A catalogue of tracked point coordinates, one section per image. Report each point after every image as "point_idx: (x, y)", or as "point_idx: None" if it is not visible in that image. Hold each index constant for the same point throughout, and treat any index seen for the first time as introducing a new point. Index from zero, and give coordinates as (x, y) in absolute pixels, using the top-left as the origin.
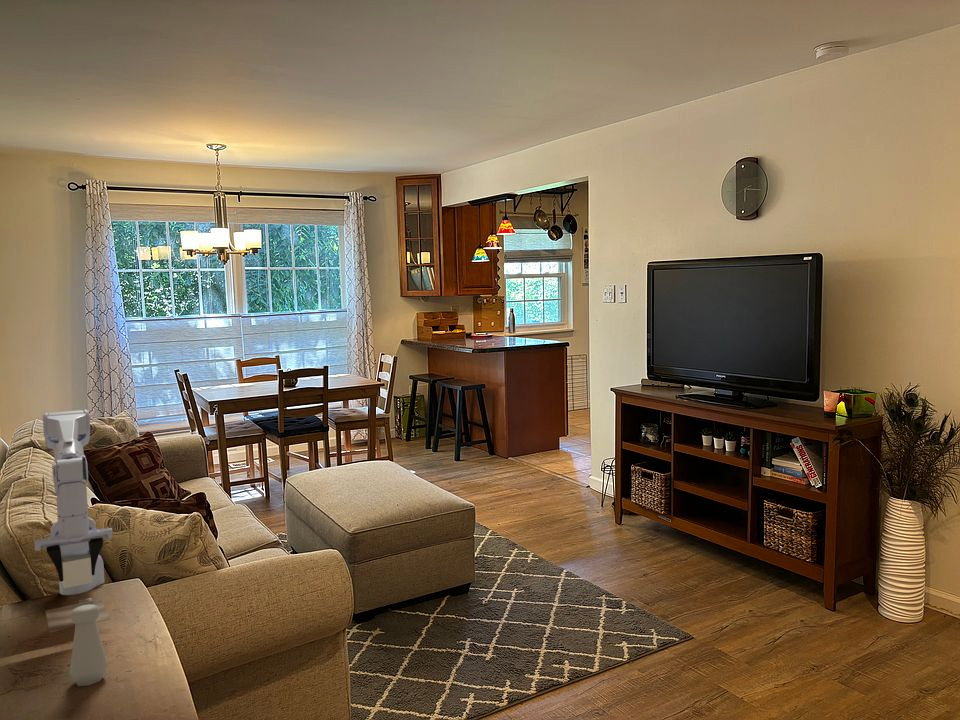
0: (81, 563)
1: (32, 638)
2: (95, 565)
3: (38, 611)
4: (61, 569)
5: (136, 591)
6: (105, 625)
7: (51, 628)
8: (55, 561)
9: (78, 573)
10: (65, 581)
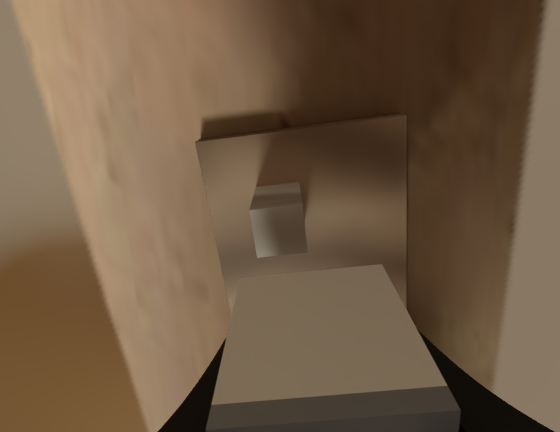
0: (288, 365)
1: (451, 157)
2: (203, 374)
3: None
4: None
5: (152, 412)
6: None
7: (398, 164)
8: (511, 418)
9: (310, 313)
10: (383, 286)
